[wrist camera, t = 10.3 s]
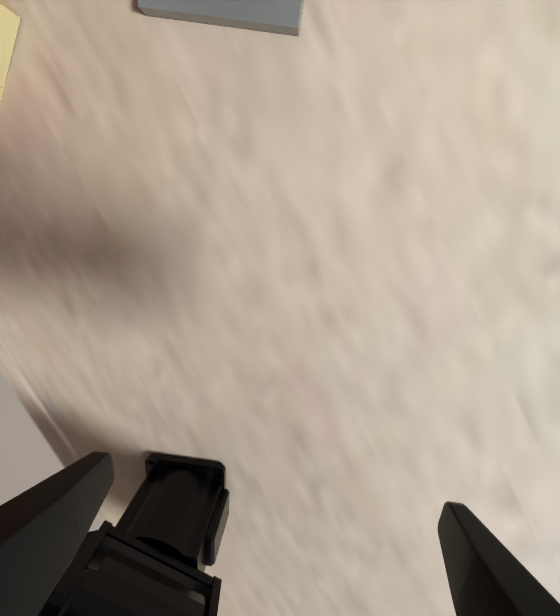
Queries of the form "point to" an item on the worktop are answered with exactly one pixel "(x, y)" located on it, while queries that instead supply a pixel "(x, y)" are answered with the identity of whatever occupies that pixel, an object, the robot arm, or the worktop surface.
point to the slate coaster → (232, 13)
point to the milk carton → (6, 39)
